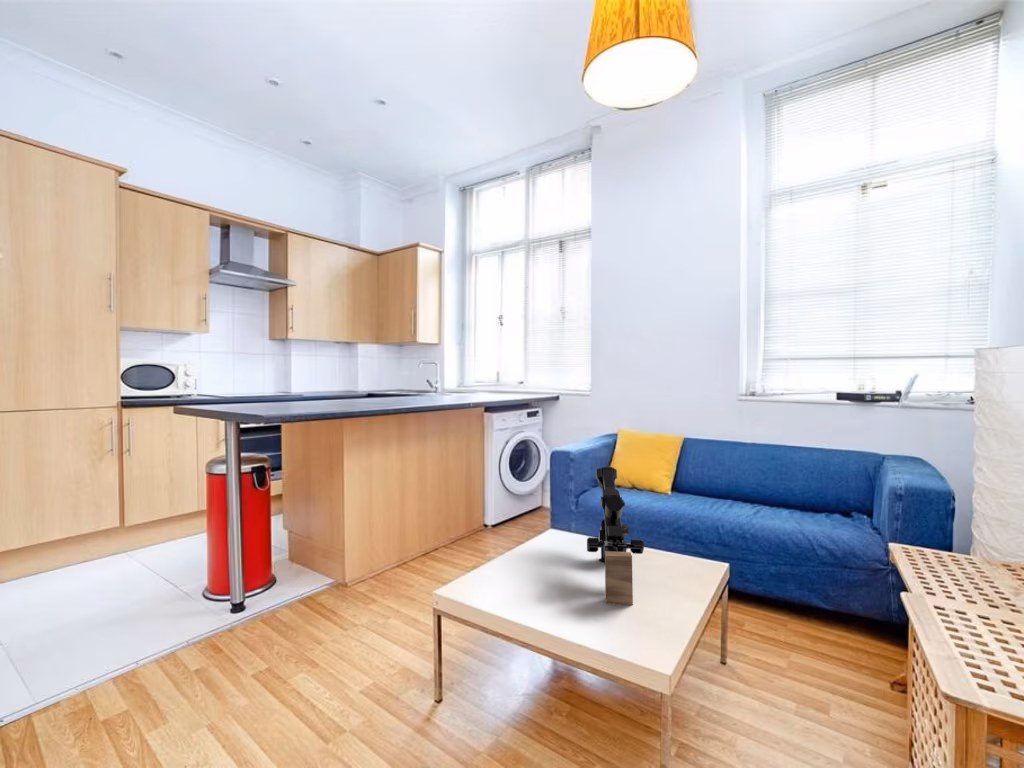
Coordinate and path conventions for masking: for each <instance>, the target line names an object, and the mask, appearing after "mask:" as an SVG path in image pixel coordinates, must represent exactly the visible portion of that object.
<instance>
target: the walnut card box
mask: <svg viewBox="0 0 1024 768" xmlns="http://www.w3.org/2000/svg"><path fill="white" fill-rule="evenodd" d="M604 577H605V578H604V581H605V585H604V586H605V587H604V588H605V591H604V592H605V595H604V596H605V603H606V605H619V604H620V605H622V606H634V599H633V598H634V594H633V593H634V592H633V590H634V588H633V556H632V552H631V551H626V552H612V551H605V562H604Z"/></svg>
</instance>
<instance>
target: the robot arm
mask: <svg viewBox="0 0 1024 768" xmlns="http://www.w3.org/2000/svg"><path fill="white" fill-rule="evenodd" d="M595 479H596V480H597V485H598V486H599V488H601V494H602V495H601V496H600V506H601V508H602V510H603V511H602V512H603V520H601V523H600V529H599V530H598V537H591V536H590V537H587V539H586V551H587V552H588V553H597V552H598V551H599V548H600V558H599V560H598V561H599V562H602V563H605V551H612V552H628V551H627V550H628V549H629V550H630V552H631V554H634V555H638V554H639V555H640V554H641V555H642V554H643V553H644V549H645V543H644V542H645V541H644V540H643V539H642V538H631V539H630V542H625V536H624V535H629V534H630V532H629V523H623V524H622V514H623V509H624V507H625V506H626V504H625V503H626V502H625V500H623V497H622V496H621V494H620V491H619V490H618V489H616V485H615V483H616V480H617V479H618V471H617V469H616V468H614V467H613V466H602V467H599V468H596V469H595Z"/></svg>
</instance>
